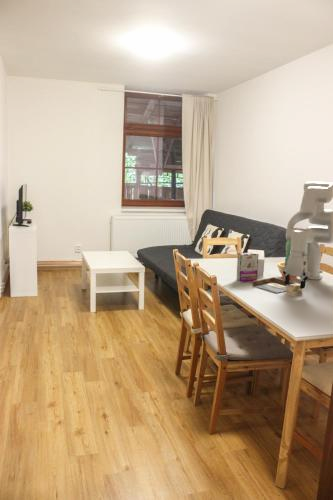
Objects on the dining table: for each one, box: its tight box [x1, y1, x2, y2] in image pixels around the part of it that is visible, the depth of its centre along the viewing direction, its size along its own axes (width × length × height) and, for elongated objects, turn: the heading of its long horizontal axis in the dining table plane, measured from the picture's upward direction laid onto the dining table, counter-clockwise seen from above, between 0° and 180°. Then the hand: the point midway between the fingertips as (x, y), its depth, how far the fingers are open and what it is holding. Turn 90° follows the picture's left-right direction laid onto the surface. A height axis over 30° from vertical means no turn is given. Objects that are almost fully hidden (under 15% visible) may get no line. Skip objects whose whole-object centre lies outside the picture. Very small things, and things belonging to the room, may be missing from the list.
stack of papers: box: [247, 248, 265, 277], centre depth 281 cm, size 32×11×11 cm, turn 168°
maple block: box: [285, 282, 304, 297], centre depth 229 cm, size 8×4×5 cm, turn 123°
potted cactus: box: [276, 239, 298, 281], centre depth 262 cm, size 15×15×25 cm
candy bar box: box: [236, 252, 258, 283], centre depth 252 cm, size 11×5×16 cm, turn 105°
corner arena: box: [251, 276, 296, 294], centre depth 241 cm, size 18×17×3 cm
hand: (294, 286), depth 229 cm, fingers open, 9 cm apart
